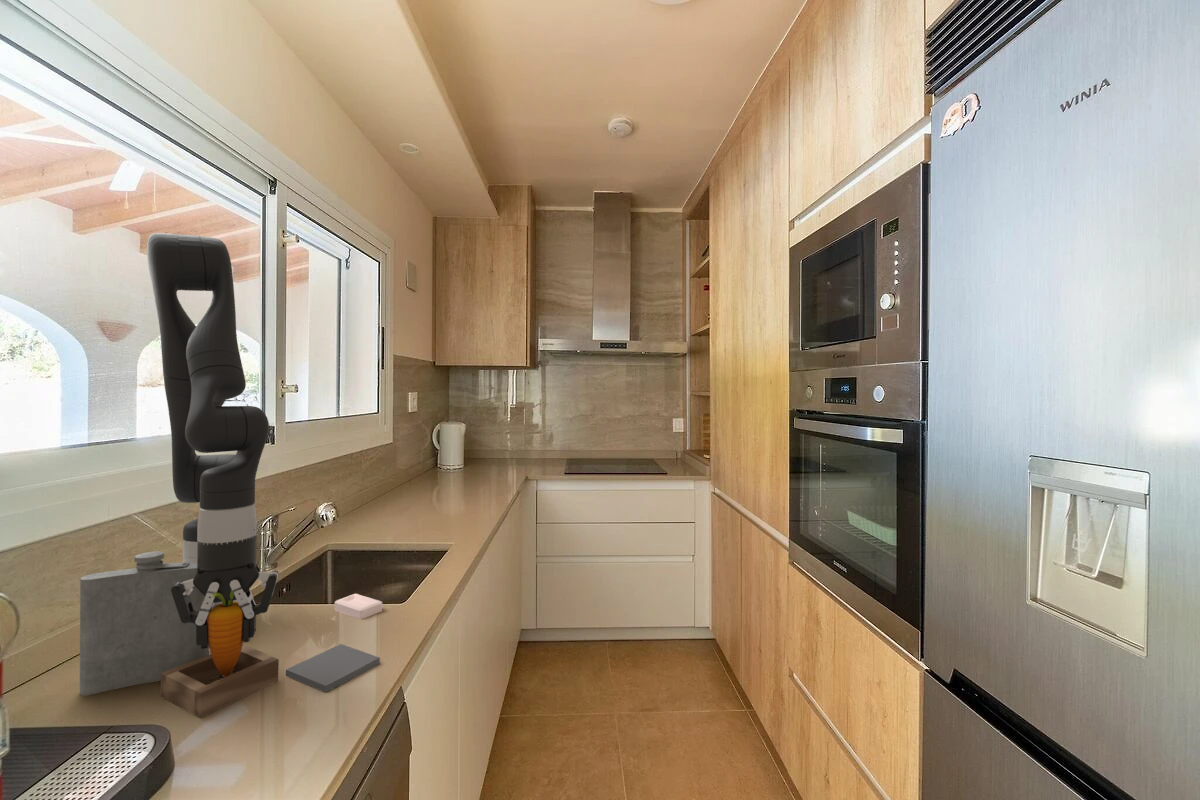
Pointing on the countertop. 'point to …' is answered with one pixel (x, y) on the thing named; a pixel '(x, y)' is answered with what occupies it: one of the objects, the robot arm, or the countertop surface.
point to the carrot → (225, 633)
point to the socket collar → (204, 699)
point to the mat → (332, 667)
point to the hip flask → (134, 624)
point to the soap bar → (358, 606)
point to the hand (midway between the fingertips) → (227, 642)
